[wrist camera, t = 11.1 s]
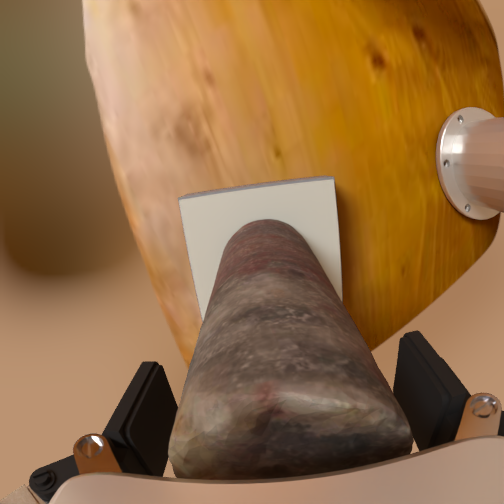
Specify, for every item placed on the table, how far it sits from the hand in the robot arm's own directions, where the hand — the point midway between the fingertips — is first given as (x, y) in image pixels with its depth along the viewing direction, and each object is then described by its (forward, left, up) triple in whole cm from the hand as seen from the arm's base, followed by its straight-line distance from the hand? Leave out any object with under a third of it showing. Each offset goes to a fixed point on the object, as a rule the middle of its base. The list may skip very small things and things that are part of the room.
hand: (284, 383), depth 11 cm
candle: (0, 0, -16) cm, 16 cm away
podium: (0, 0, -19) cm, 19 cm away
